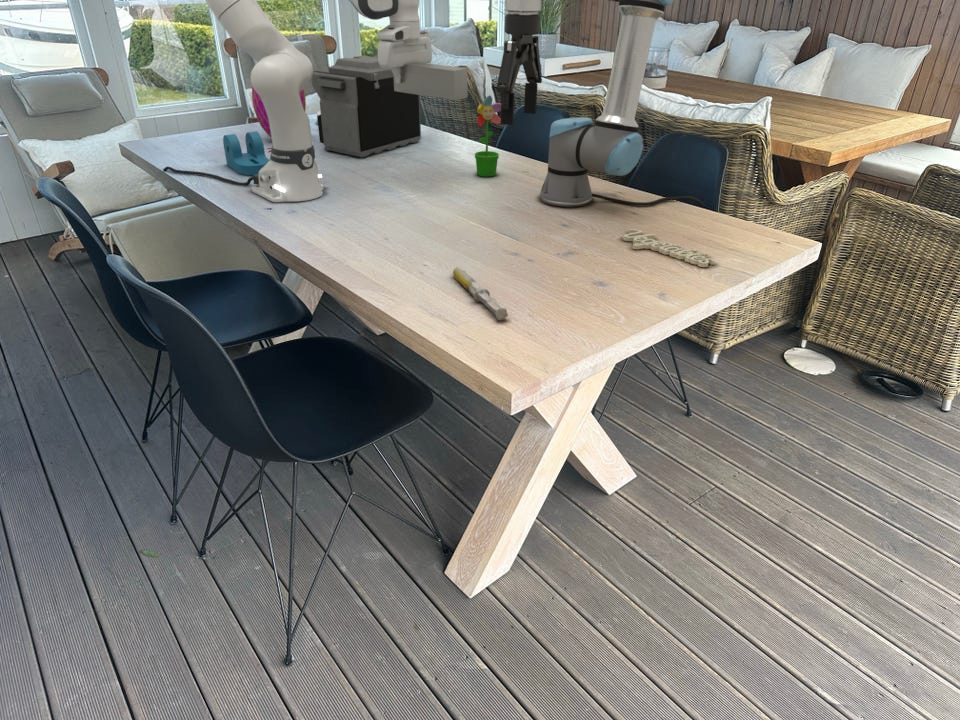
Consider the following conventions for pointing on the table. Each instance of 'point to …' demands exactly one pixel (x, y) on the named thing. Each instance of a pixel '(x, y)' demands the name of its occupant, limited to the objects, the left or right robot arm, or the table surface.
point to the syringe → (479, 293)
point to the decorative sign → (667, 248)
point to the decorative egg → (261, 110)
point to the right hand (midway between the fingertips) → (518, 118)
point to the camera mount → (245, 161)
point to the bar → (433, 81)
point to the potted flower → (487, 159)
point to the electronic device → (364, 108)
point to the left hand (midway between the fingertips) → (407, 81)
